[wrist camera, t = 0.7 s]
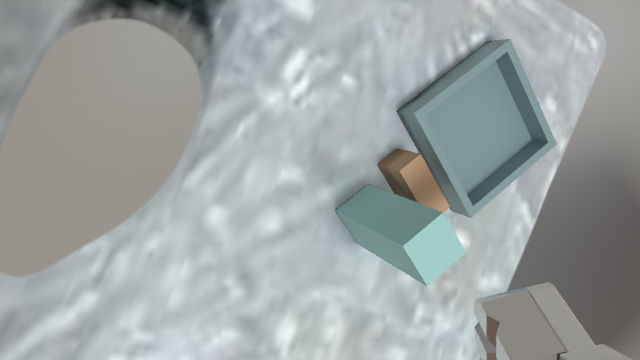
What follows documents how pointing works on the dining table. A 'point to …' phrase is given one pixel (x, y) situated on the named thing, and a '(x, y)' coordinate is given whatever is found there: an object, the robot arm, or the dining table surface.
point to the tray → (478, 127)
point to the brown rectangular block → (413, 179)
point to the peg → (402, 232)
